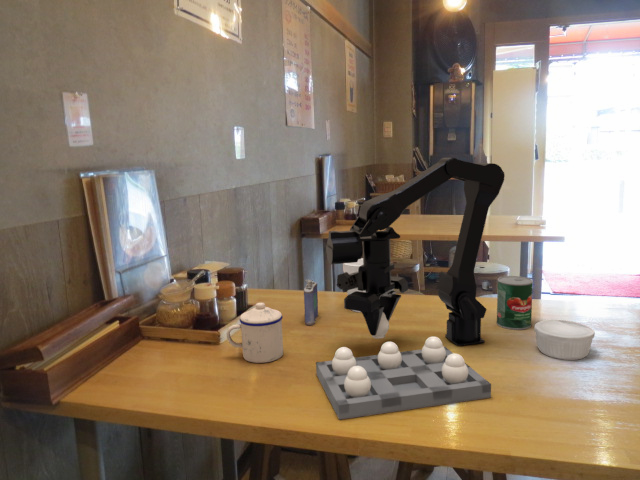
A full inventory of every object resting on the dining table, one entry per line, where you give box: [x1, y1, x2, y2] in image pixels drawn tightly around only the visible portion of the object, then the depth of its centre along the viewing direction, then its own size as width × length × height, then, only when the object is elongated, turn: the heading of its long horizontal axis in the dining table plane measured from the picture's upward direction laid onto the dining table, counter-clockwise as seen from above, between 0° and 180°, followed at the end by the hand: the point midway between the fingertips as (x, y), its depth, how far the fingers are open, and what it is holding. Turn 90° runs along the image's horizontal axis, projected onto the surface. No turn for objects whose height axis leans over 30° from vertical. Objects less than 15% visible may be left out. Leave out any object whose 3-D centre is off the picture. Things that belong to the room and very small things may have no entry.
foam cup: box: [342, 257, 367, 313], centre depth 142 cm, size 10×9×13 cm
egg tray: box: [315, 335, 492, 421], centre depth 96 cm, size 18×27×7 cm, turn 102°
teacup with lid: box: [226, 302, 284, 364], centre depth 112 cm, size 12×9×12 cm
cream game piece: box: [367, 313, 390, 340], centre depth 112 cm, size 5×5×6 cm
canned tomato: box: [496, 275, 534, 331], centre depth 125 cm, size 8×8×11 cm
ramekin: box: [533, 319, 595, 361], centre depth 108 cm, size 11×11×5 cm
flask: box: [303, 279, 319, 327], centre depth 134 cm, size 9×3×11 cm, turn 172°
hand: (378, 331), depth 112 cm, fingers closed on cream game piece, 5 cm apart
